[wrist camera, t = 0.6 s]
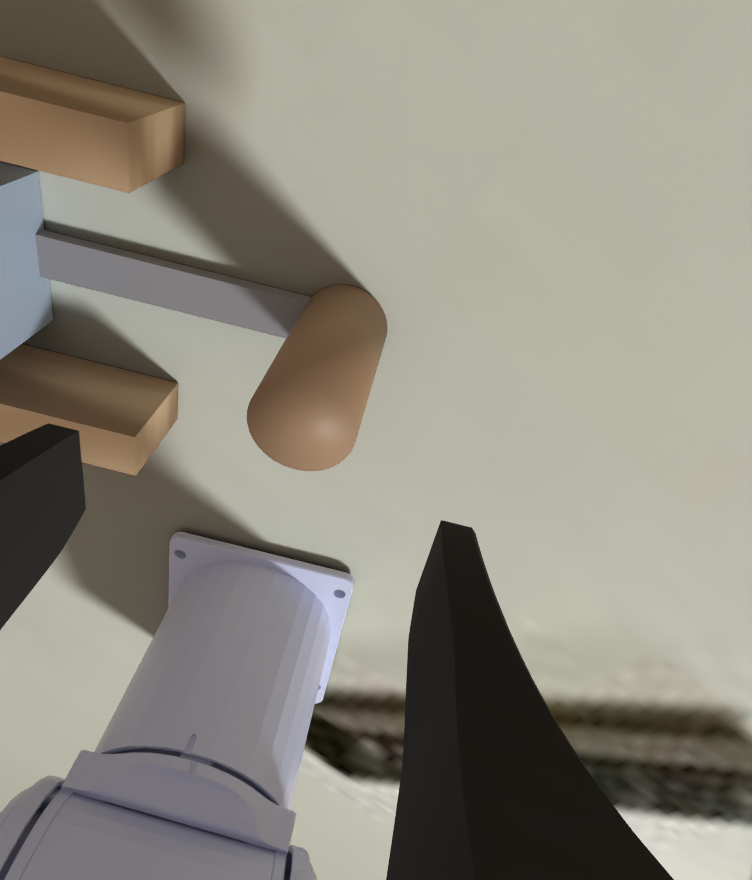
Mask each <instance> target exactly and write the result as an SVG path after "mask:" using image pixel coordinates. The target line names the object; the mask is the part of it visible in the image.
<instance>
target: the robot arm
mask: <svg viewBox="0 0 752 880" xmlns="http://www.w3.org/2000/svg"><path fill="white" fill-rule="evenodd" d="M85 509H86V507H85V495H84V484H83V472H82V460H81V448H80V437H79V431H78V430H74V429H70V428H66V427H62V426H58V425H53V424H49V423H48V424H46V425H43V426H41V427H39V428H36V429H34V430H32V431H30V432H28V433H26V434H23V435H21V436H19V437H17V438H15V439H13V440H11V441H9V442H7V443H5V444H3V445H1V446H0V630H1V628H2V627H3V626H4V624H5V623H6V622H7V621H8V619H9V618H10V617H11V616H12V614H13V613H14V612H15V610H16V609H17V608H18V607H19V605H20V604H21V603H22V602H23V600H24V599H25V598H26V596H27V595H28V594H29V593H30V591H31V590H32V589H33V588H34V586H35V585H36V584H37V582H38V581H39V580H40V579H41V577H42V576H43V575H44V573H45V572H46V571H47V569H48V568H49V567H50V566H51V564H52V563H53V562H54V560H55V559H56V558H57V556H58V555H59V554H60V552H61V551H62V549H63V547H64V546H65V544H66V542H67V541H68V539H69V537H70V536H71V534H72V532H73V531H74V529H75V527H76V525H77V523H78V522H79V520H80V518H81V516H82V515H83V513H84V511H85ZM180 550H181V551H180ZM182 551H183V552H182ZM353 586H354V579H353V577H352V576H351V575H350V574H348V573H346V572H342V571H338V570H334V569H330V568H326V567H322V566H318V565H314V564H310V563H306V562H302V561H298V560H294V559H290V558H286V557H282V556H278V555H274V554H270V553H266V552H262V551H258V550H253V549H249V548H245V547H241V546H237V545H233V544H229V543H225V542H221V541H217V540H213V539H209V538H205V537H201V536H197V535H193V534H189V533H185V532H176V533H175V534H173V536H172V538H171V539H170V542H169V593H168V610H167V612H166V614H165V616H164V618H163V620H162V622H161V624H160V626H159V628H158V630H157V632H156V633H155V635H154V637H153V639H152V641H151V643H150V645H149V647H148V649H147V651H146V653H145V655H144V657H143V659H142V661H141V663H140V664H139V666H138V668H137V670H136V672H135V674H134V676H133V678H132V680H131V682H130V684H129V686H128V688H127V690H126V692H125V694H124V695H123V697H122V699H121V701H120V703H119V705H118V707H117V709H116V711H115V713H114V715H113V717H112V719H111V721H110V723H109V725H108V726H107V728H106V730H105V732H104V734H103V736H102V738H101V740H100V742H99V744H98V746H97V748H96V750H95V752H90V751H86V750H82V751H80V753H79V755H78V757H77V758H76V760H75V762H74V764H73V766H72V768H71V770H70V771H69V773H68V775H67V777H66V779H62V778H59V777H56V776H46V777H44V778H42V779H41V780H39V781H38V782H37V783H35V784H34V785H33V786H31V787H29V788H28V789H26V790H24V791H22V792H21V793H19V794H18V795H17V796H15V797H14V798H13V799H12V800H11V801H10V802H9V803H8V805H7V806H6V807H5V808H4V809H3V811H2V812H1V813H0V880H317V877H316V874H315V872H314V869H313V867H312V865H311V863H310V859H309V855H308V852H307V851H306V850H305V849H303V848H300V847H297V846H293V845H291V846H290V847H289V845H290V841H291V836H292V832H293V827H294V823H295V819H296V813H295V812H294V811H291V810H289V809H290V804H291V800H292V796H293V792H294V788H295V784H296V779H297V775H298V771H299V767H300V763H301V759H302V754H303V750H304V746H305V742H306V738H307V733H308V729H309V725H310V721H311V717H312V713H313V708H314V704H315V703H319V702H321V701H322V700H323V696H324V693H325V689H326V685H327V682H328V678H329V674H330V671H331V667H332V663H333V660H334V656H335V652H336V649H337V645H338V641H339V638H340V634H341V630H342V627H343V623H344V619H345V616H346V612H347V608H348V605H349V601H350V597H351V594H352V590H353ZM339 590H342V591H339ZM386 880H674V879H673V878H672V877H671V876H670V875H669V873H668V872H667V871H666V870H665V869H664V868H663V866H662V865H661V864H660V863H659V862H658V861H657V859H656V858H655V857H654V856H653V855H652V854H651V852H650V851H649V850H648V849H647V848H646V846H645V845H644V844H643V843H642V842H641V841H640V839H639V838H638V837H637V836H636V835H635V833H634V832H633V831H632V830H631V828H630V827H629V826H628V824H627V823H626V822H625V821H624V819H623V818H622V817H621V815H620V814H619V813H618V811H617V810H616V809H615V807H614V806H613V805H612V804H611V802H610V801H609V800H608V798H607V797H606V796H605V794H604V793H603V791H602V790H601V788H600V787H599V785H598V784H597V782H596V781H595V780H594V778H593V777H592V775H591V774H590V772H589V771H588V769H587V768H586V766H585V765H584V763H583V762H582V761H581V759H580V758H579V756H578V755H577V753H576V752H575V750H574V749H573V747H572V746H571V744H570V743H569V741H568V740H567V738H566V736H565V735H564V733H563V731H562V730H561V728H560V727H559V725H558V723H557V722H556V720H555V718H554V717H553V715H552V713H551V712H550V710H549V708H548V706H547V704H546V703H545V701H544V699H543V697H542V696H541V694H540V692H539V690H538V688H537V686H536V685H535V683H534V681H533V679H532V677H531V675H530V673H529V671H528V669H527V667H526V665H525V663H524V661H523V659H522V657H521V654H520V652H519V650H518V648H517V646H516V644H515V642H514V639H513V637H512V635H511V633H510V630H509V628H508V626H507V623H506V621H505V618H504V616H503V613H502V611H501V608H500V606H499V603H498V601H497V598H496V596H495V593H494V590H493V588H492V585H491V582H490V579H489V576H488V573H487V571H486V568H485V565H484V561H483V558H482V555H481V552H480V548H479V545H478V541H477V538H476V534H475V532H474V530H473V529H472V528H471V527H467V526H462V525H458V524H454V523H450V522H446V521H442V520H441V522H440V525H439V528H438V531H437V533H436V536H435V539H434V542H433V545H432V547H431V550H430V553H429V556H428V559H427V562H426V564H425V567H424V570H423V573H422V576H421V578H420V581H419V584H418V587H417V590H416V595H415V601H414V607H413V613H412V620H411V626H410V633H409V641H408V661H407V683H406V706H405V729H404V750H403V762H402V773H401V780H400V788H399V795H398V802H397V809H396V817H395V824H394V831H393V838H392V845H391V851H390V858H389V865H388V872H387V879H386Z"/></svg>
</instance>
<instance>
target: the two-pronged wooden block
mask: <svg viewBox="0 0 752 880" xmlns="http://www.w3.org/2000/svg"><path fill="white" fill-rule="evenodd" d="M184 121H185V103H183V102H179V101H175V100H171V99H167V98H163V97H159V96H155V95H151V94H147V93H143V92H139V91H135V90H131V89H127V88H123V87H119V86H115V85H111V84H107V83H103V82H99V81H95V80H92V79H88V78H84V77H80V76H76V75H72V74H68V73H64V72H60V71H56V70H52V69H48V68H44V67H40V66H36V65H32V64H28V63H24V62H20V61H16V60H12V59H8V58H4V57H0V161H3V162H7V163H11V164H15V165H19V166H23V167H27V168H31V169H35V170H39V171H43V172H47V173H51V174H55V175H59V176H63V177H67V178H71V179H75V180H79V181H83V182H87V183H91V184H95V185H99V186H103V187H107V188H111V189H115V190H119V191H123V192H127V193H130V192H132V191H134V190H136V189H138V188H139V187H141V186H143V185H145V184H147V183H149V182H150V181H152V180H154V179H156V178H158V177H159V176H161V175H163V174H165V173H167V172H168V171H170V170H172V169H174V168H176V167H178V166H179V165H181V164H183V163H184ZM177 411H178V383H176V382H172V381H168V380H164V379H160V378H156V377H152V376H148V375H144V374H140V373H136V372H132V371H128V370H124V369H120V368H116V367H112V366H108V365H104V364H100V363H96V362H92V361H88V360H84V359H80V358H76V357H72V356H68V355H64V354H60V353H56V352H52V351H48V350H44V349H40V348H36V347H32V346H28V345H24V344H21V345H19V346H18V347H17V348H15V349H14V350H13V351H11V352H10V353H9V354H7V355H6V356H5V357H3V358H2V359H1V360H0V442H2V443H7V442H9V441H11V440H13V439H15V438H17V437H19V436H21V435H23V434H26V433H28V432H30V431H32V430H34V429H36V428H39V427H41V426H43V425H46V424H48V423H49V424H53V425H58V426H62V427H66V428H70V429H74V430H78V431H79V437H80V448H81V460H82V463H86V464H91V465H95V466H99V467H103V468H107V469H111V470H115V471H119V472H123V473H127V474H131V475H135V476H136V475H137V474H138V472H139V471H140V469H141V468H142V467H143V465H144V464H145V463H146V461H147V460H148V458H149V457H150V456H151V454H152V453H153V452H154V450H155V449H156V447H157V446H158V445H159V443H160V442H161V441H162V439H163V438H164V436H165V435H166V434H167V432H168V431H169V430H170V428H171V427H172V425H173V424H174V423H175V421H176V420H177Z"/></svg>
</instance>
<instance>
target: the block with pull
mask: <svg viewBox="0 0 752 880" xmlns="http://www.w3.org/2000/svg"><path fill="white" fill-rule="evenodd" d="M49 279H52V280H56V281H60V282H64V283H68V284H72V285H76V286H80V287H84V288H88V289H92V290H96V291H100V292H104V293H108V294H112V295H115V296H119V297H123V298H127V299H131V300H135V301H139V302H143V303H147V304H151V305H155V306H159V307H163V308H167V309H171V310H175V311H179V312H183V313H187V314H191V315H195V316H199V317H203V318H207V319H211V320H215V321H219V322H223V323H227V324H231V325H235V326H239V327H243V328H247V329H251V330H255V331H259V332H263V333H267V334H271V335H275V336H279V337H283V338H286V340H285V342H284V344H283V345H282V347H281V349H280V350H279V352H278V354H277V356H276V357H275V359H274V361H273V363H272V364H271V366H270V368H269V369H268V371H267V373H266V375H265V376H264V378H263V380H262V381H261V383H260V385H259V387H258V388H257V390H256V392H255V393H254V395H253V397H252V399H251V401H250V403H249V406H248V410H247V423H248V427H249V431H250V433H251V436H252V438H253V439H254V441H255V443H256V444H257V445H258V447H259V448H260V449H261V450H262V451H263V452H264V453H265V454H266V455H268V456H269V457H270V458H271V459H273V460H274V461H276V462H278V463H280V464H282V465H284V466H287V467H289V468H293V469H297V470H302V471H318V470H324V469H328V468H330V467H333V466H335V465H337V464H339V463H340V462H341V461H343V460H344V459H345V458H346V457H347V456H348V455H349V454H350V452H351V451H352V449H353V447H354V445H355V441H356V438H357V435H358V431H359V428H360V424H361V421H362V417H363V414H364V411H365V407H366V404H367V400H368V397H369V393H370V390H371V387H372V383H373V380H374V376H375V373H376V369H377V366H378V363H379V359H380V356H381V352H382V349H383V345H384V342H385V338H386V334H387V321H386V317H385V314H384V312H383V310H382V308H381V306H380V305H379V303H378V302H377V301H376V300H375V299H374V298H373V297H372V296H371V295H370V294H369V293H367V292H365V291H364V290H362V289H360V288H357V287H354V286H350V285H342V284H339V285H332V286H328V287H325V288H323V289H321V290H319V291H318V292H316V293H315V294H314V295H313V296H312V297H310V296H306V295H302V294H298V293H294V292H290V291H286V290H282V289H278V288H274V287H270V286H266V285H262V284H258V283H254V282H250V281H246V280H242V279H238V278H234V277H230V276H226V275H222V274H218V273H214V272H210V271H206V270H202V269H198V268H194V267H190V266H186V265H182V264H178V263H174V262H170V261H166V260H162V259H158V258H154V257H150V256H146V255H142V254H138V253H134V252H131V251H127V250H123V249H119V248H115V247H111V246H107V245H103V244H99V243H95V242H91V241H87V240H83V239H79V238H75V237H71V236H67V235H63V234H59V233H55V232H51V231H47V230H44V223H43V213H42V204H41V194H40V184H39V175H38V171H34V170H30V169H26V168H22V167H18V166H14V165H10V164H6V163H2V162H0V360H1V359H2V358H3V357H5V356H6V355H7V354H9V353H10V352H11V351H13V350H14V349H15V348H17V347H18V346H19V345H21V344H22V343H23V342H25V341H26V340H27V339H29V338H30V337H31V336H33V335H34V334H35V333H37V332H38V331H39V330H41V329H42V328H43V327H45V326H46V325H47V324H49V323H50V322H51V321H53V310H52V301H51V291H50V281H49Z"/></svg>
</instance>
